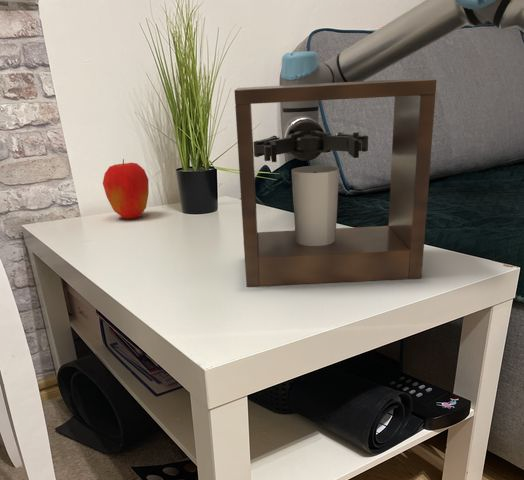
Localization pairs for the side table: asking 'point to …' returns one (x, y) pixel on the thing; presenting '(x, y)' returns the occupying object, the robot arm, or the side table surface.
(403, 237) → the shelf unit
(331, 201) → the drinking glass
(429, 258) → the side table surface
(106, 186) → the apple
